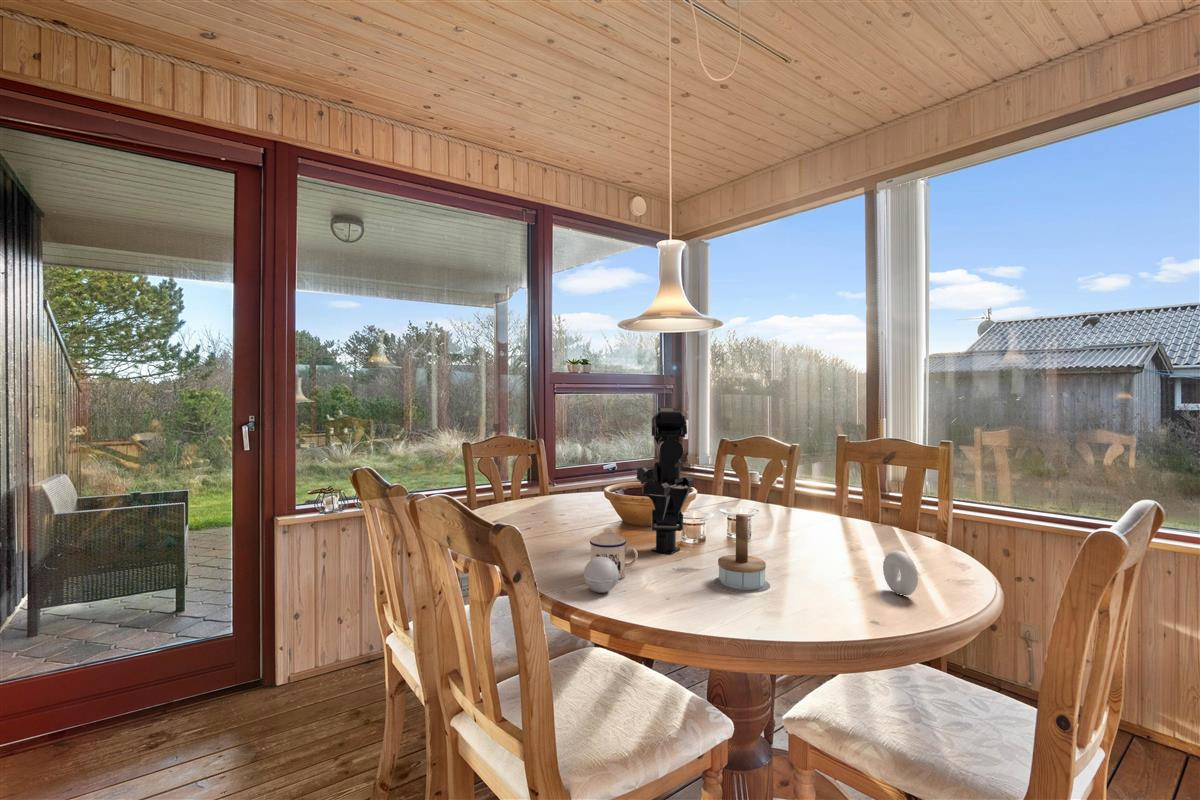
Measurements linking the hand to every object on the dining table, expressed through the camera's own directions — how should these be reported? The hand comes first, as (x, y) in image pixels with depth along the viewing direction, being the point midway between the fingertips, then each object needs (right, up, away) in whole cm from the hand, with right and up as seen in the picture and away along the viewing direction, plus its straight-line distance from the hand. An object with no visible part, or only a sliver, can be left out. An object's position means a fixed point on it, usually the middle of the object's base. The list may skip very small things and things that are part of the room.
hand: (668, 517), depth 149 cm
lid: (+16, -9, -14) cm, 23 cm away
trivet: (+16, -13, -14) cm, 25 cm away
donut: (+50, -14, -20) cm, 56 cm away
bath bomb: (-18, -13, -19) cm, 29 cm away
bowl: (+16, -13, -14) cm, 25 cm away
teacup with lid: (-15, -13, -7) cm, 21 cm away
